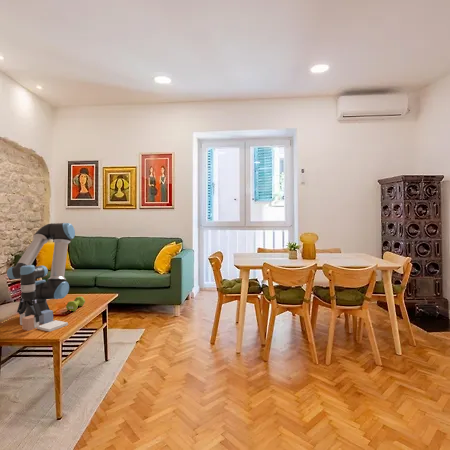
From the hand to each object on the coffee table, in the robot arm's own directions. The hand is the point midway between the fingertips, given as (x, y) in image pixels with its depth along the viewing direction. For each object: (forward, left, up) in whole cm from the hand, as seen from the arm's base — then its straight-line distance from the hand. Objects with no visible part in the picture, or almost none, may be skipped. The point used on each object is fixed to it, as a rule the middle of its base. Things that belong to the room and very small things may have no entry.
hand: (29, 326), depth 190 cm
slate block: (-2, +11, -2) cm, 12 cm away
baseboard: (+11, +7, -2) cm, 13 cm away
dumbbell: (-10, +39, -2) cm, 41 cm away
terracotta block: (0, 0, -2) cm, 2 cm away
